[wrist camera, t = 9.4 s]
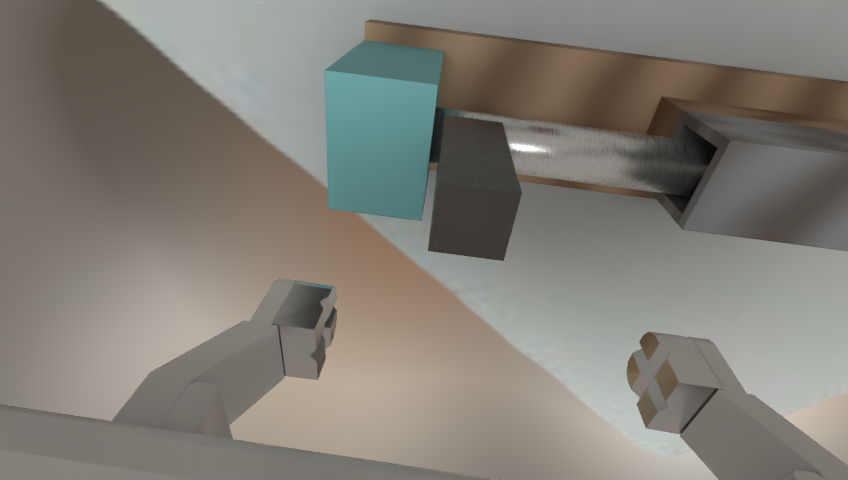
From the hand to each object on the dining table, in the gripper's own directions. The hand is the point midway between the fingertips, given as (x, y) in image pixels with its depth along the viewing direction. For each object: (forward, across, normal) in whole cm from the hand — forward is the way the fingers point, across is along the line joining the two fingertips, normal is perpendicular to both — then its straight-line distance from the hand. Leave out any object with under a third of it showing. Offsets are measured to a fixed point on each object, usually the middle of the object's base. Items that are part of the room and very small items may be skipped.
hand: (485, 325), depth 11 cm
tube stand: (+22, -9, 0) cm, 23 cm away
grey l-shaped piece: (+16, -3, 0) cm, 16 cm away
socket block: (+20, +5, 0) cm, 20 cm away
